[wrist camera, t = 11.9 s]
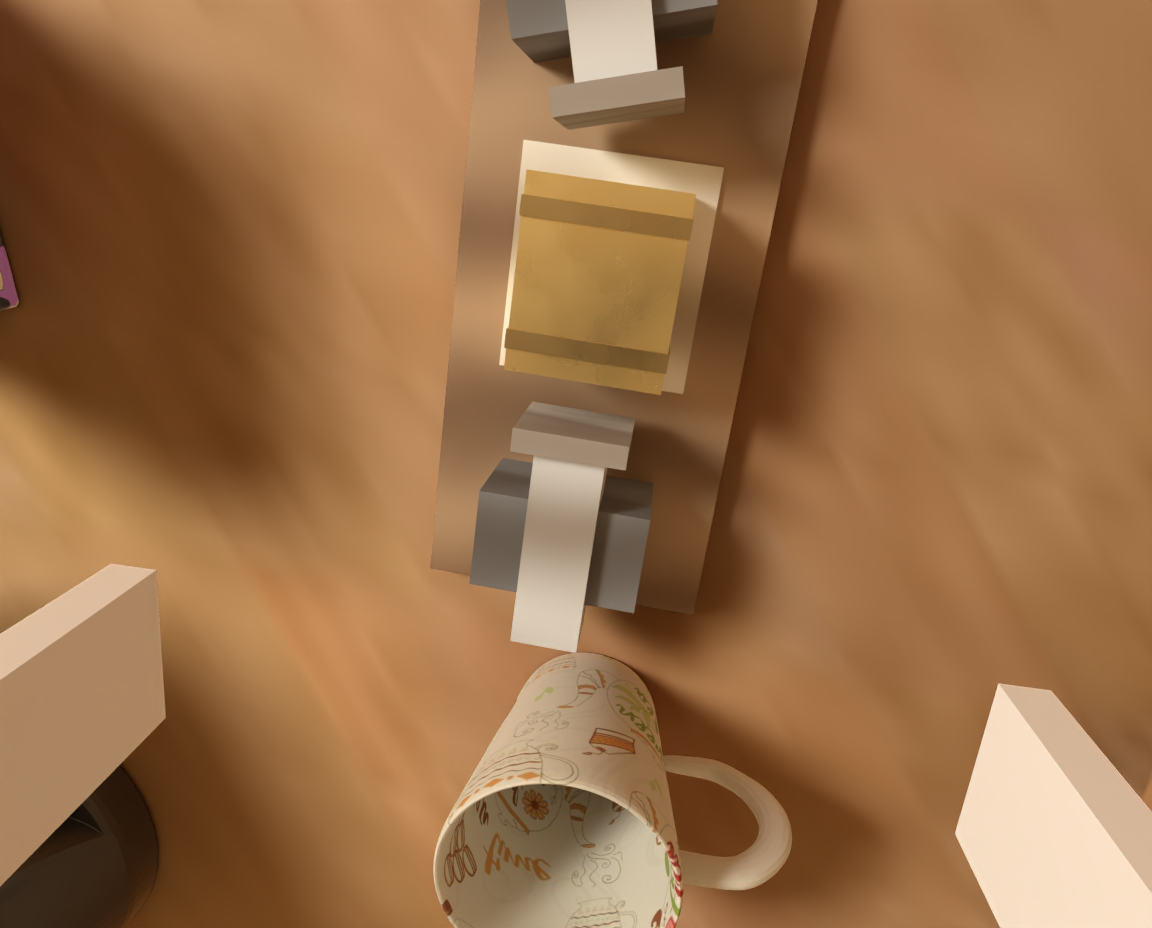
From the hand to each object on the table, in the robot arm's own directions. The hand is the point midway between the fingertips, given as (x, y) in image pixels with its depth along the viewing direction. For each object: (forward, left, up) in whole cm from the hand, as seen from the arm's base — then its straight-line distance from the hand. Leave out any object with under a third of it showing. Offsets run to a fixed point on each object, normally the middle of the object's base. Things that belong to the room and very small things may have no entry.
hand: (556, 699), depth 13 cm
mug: (+2, -14, -20) cm, 25 cm away
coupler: (-1, +5, -19) cm, 20 cm away
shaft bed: (-2, +5, -20) cm, 21 cm away
